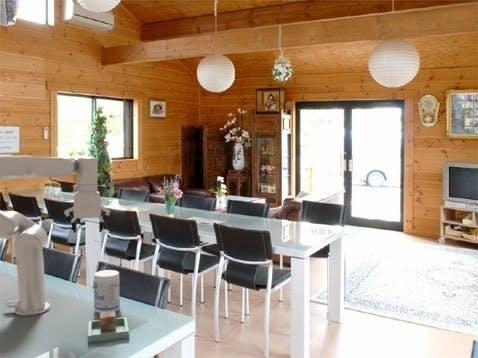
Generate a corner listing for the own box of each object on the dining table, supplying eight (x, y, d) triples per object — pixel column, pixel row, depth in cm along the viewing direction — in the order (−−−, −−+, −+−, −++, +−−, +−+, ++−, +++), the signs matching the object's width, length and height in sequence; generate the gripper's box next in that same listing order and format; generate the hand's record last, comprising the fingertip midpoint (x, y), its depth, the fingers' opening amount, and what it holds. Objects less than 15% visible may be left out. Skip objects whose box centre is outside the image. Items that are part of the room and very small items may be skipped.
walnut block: (100, 335, 159) (100, 318, 159) (100, 329, 164) (100, 312, 164) (116, 333, 161) (115, 316, 160) (115, 327, 166) (115, 311, 165)
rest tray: (88, 343, 154) (87, 335, 154) (88, 328, 167) (88, 320, 167) (128, 338, 158) (128, 331, 158) (126, 323, 171) (126, 316, 170)
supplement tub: (89, 312, 182) (88, 275, 181) (104, 304, 191) (103, 268, 189) (110, 315, 178) (109, 277, 177) (125, 307, 187) (124, 271, 186)
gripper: (62, 189, 179) (63, 234, 180) (109, 189, 183) (110, 233, 184) (65, 187, 186) (65, 230, 188) (110, 187, 190) (111, 229, 191)
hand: (87, 231), depth 186 cm, fingers open, 9 cm apart
